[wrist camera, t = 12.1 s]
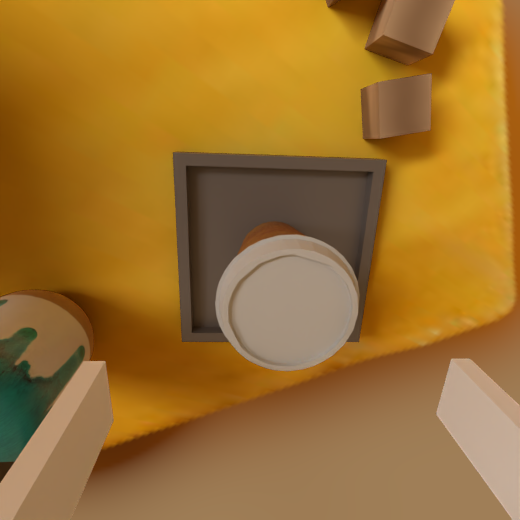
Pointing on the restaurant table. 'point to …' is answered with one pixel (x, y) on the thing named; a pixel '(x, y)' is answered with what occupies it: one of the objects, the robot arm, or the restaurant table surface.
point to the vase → (36, 360)
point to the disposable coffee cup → (287, 299)
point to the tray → (267, 218)
